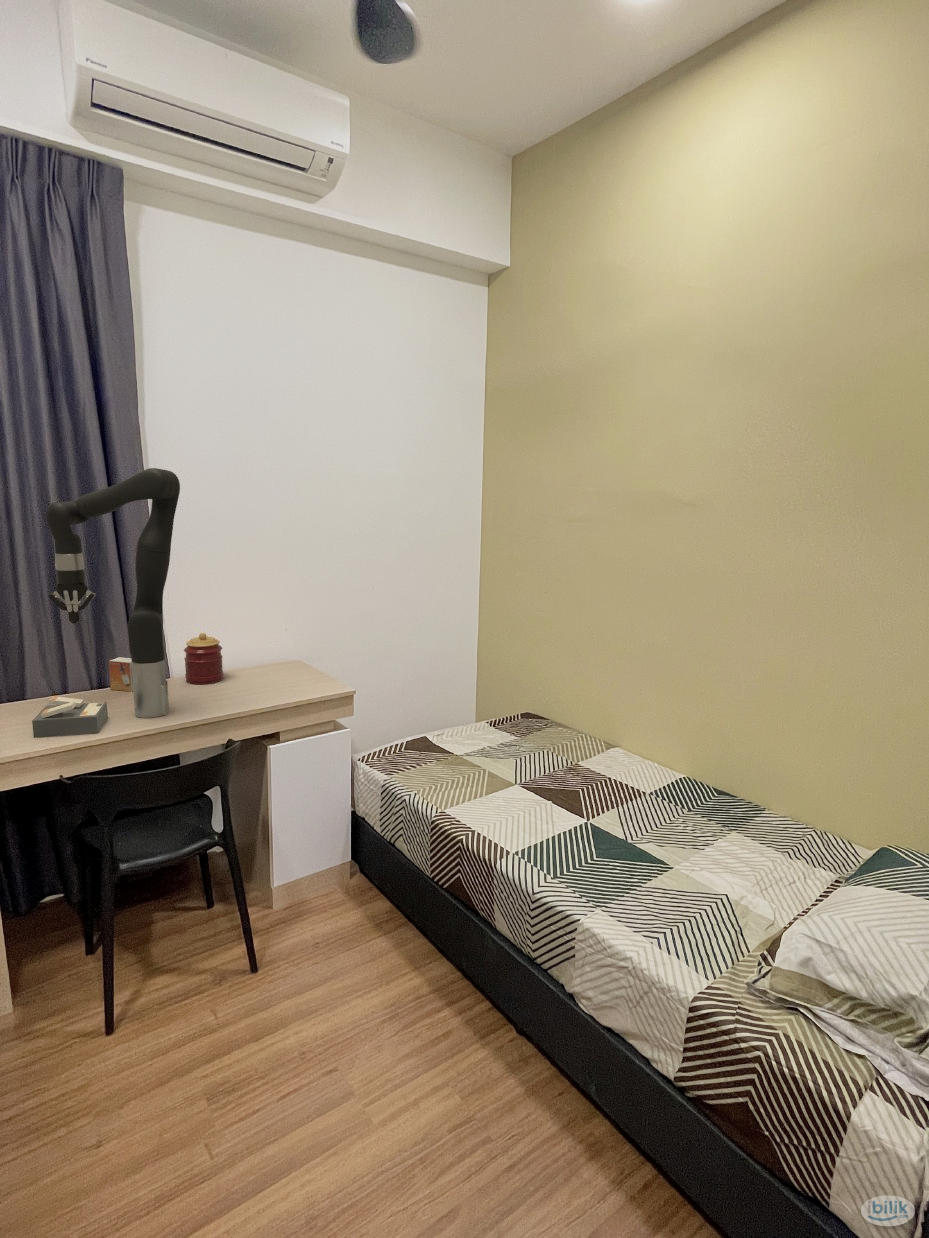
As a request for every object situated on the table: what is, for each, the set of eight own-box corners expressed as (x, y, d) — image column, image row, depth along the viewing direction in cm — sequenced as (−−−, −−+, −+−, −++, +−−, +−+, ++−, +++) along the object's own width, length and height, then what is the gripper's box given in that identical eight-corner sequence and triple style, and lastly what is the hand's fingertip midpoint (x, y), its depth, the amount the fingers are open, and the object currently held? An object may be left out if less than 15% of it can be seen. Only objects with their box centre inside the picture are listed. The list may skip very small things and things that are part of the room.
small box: (110, 690, 223) (108, 660, 221) (121, 685, 229) (119, 656, 227) (131, 692, 222) (129, 662, 220) (142, 687, 228) (140, 658, 225)
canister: (195, 674, 245) (193, 628, 242) (229, 675, 245) (227, 630, 241) (179, 684, 232) (176, 636, 229) (214, 685, 232) (212, 637, 228)
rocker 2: (76, 704, 187) (74, 700, 187) (72, 708, 184) (71, 704, 183) (46, 713, 185) (44, 709, 185) (42, 718, 182) (40, 713, 181)
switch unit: (107, 717, 198) (106, 699, 197) (98, 733, 186) (96, 714, 185) (47, 721, 193) (46, 703, 192) (33, 737, 181) (31, 718, 180)
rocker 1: (82, 703, 194) (83, 699, 194) (79, 707, 191) (80, 703, 190) (52, 699, 191) (53, 695, 191) (48, 703, 188) (49, 699, 188)
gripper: (97, 566, 204) (101, 620, 208) (49, 566, 200) (54, 621, 204) (91, 569, 197) (96, 625, 201) (41, 569, 193) (47, 626, 197)
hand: (74, 623), depth 202 cm, fingers closed
